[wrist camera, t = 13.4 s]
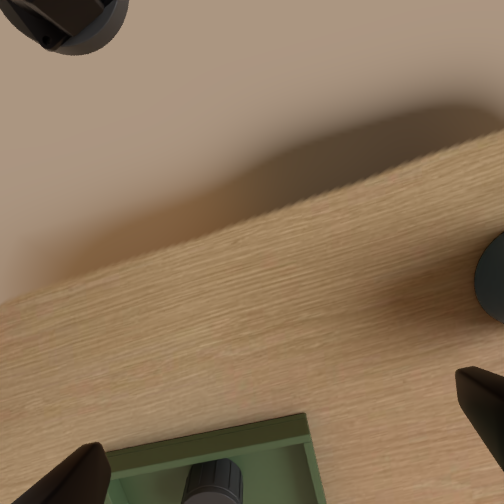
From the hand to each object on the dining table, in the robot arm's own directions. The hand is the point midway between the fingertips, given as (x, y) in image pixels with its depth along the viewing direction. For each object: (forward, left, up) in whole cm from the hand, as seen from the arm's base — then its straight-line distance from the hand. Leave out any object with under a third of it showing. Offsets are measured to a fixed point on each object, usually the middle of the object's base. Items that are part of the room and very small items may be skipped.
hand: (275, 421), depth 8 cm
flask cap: (+11, -12, -10) cm, 19 cm away
